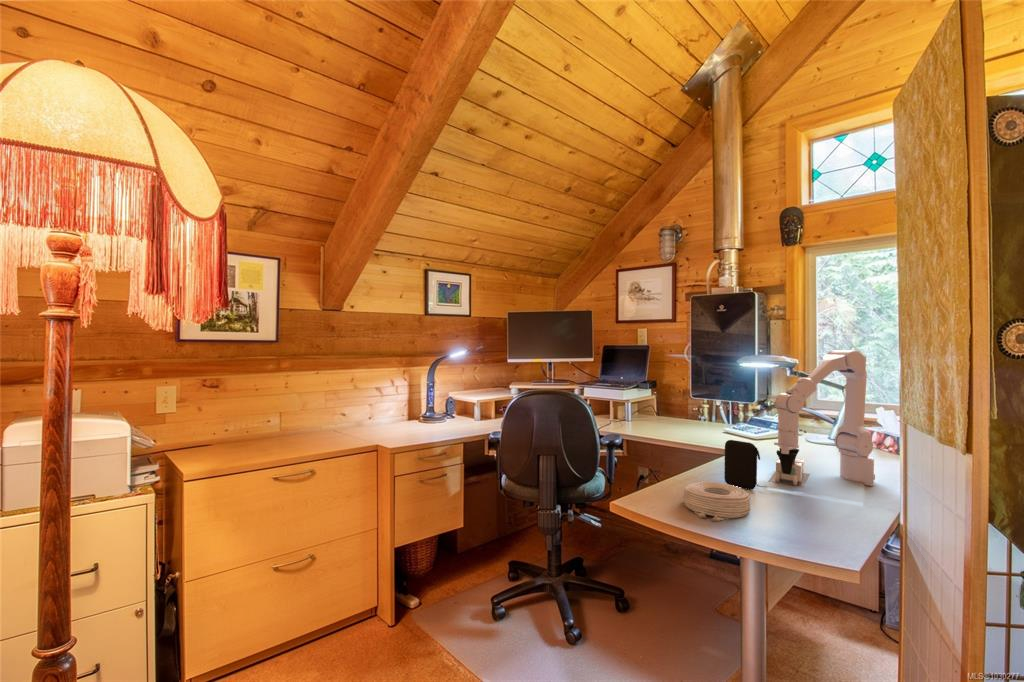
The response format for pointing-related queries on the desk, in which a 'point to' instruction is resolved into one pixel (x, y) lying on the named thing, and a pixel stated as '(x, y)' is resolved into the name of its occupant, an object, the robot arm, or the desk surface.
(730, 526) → the desk surface
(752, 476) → the carrying case or bag
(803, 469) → the tan rectangular block
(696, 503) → the cable
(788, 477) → the light wooden block
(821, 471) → the desk surface
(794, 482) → the grey peg board
